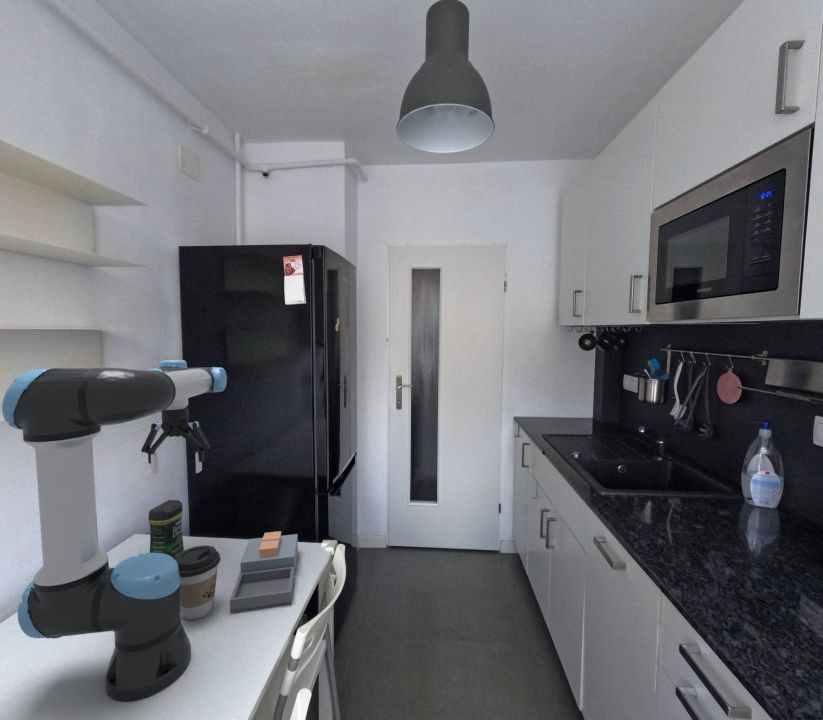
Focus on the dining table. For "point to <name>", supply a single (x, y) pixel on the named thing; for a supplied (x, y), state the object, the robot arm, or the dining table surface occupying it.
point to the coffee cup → (197, 580)
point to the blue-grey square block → (282, 560)
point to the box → (262, 589)
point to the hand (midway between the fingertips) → (177, 472)
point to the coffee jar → (166, 528)
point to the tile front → (269, 548)
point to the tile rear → (272, 536)
